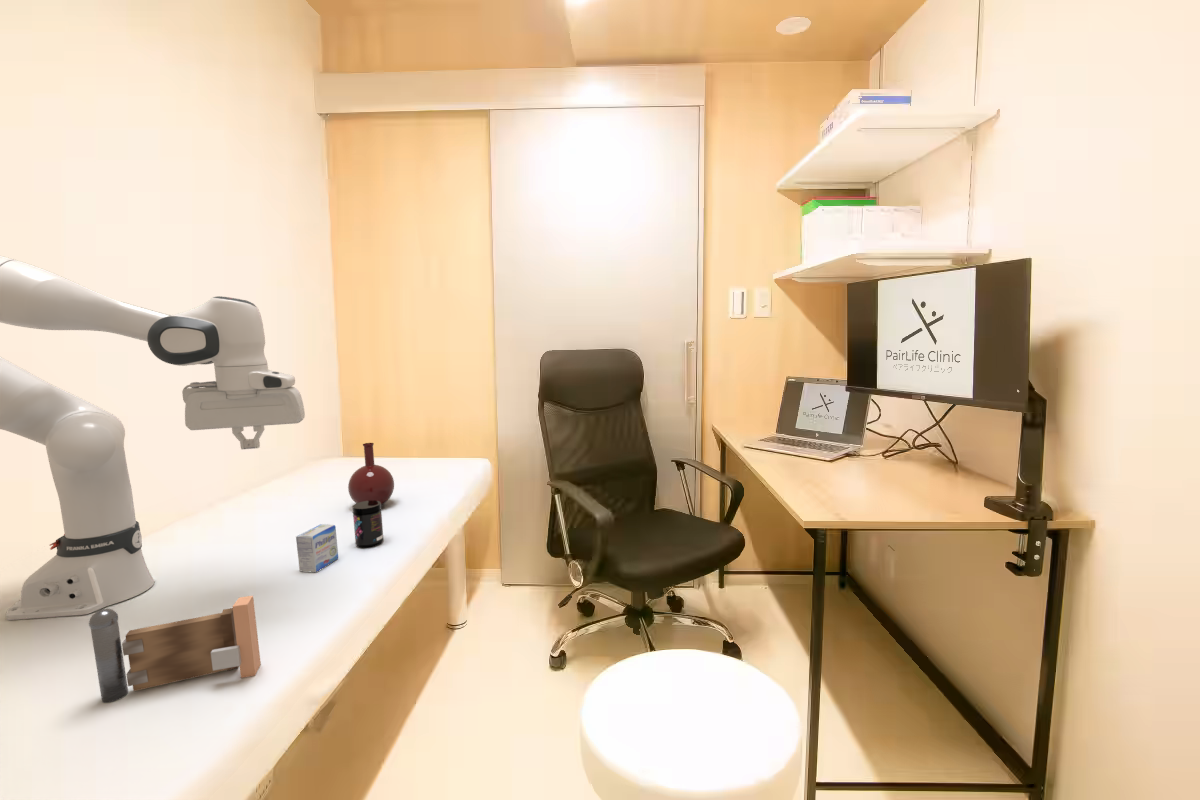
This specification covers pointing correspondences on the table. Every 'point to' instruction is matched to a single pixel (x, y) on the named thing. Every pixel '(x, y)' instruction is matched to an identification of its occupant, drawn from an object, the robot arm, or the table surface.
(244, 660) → the latch post
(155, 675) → the gate
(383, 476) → the round-bottom flask
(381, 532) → the supplement container
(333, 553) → the medicine box
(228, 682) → the table surface
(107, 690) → the hinge post
